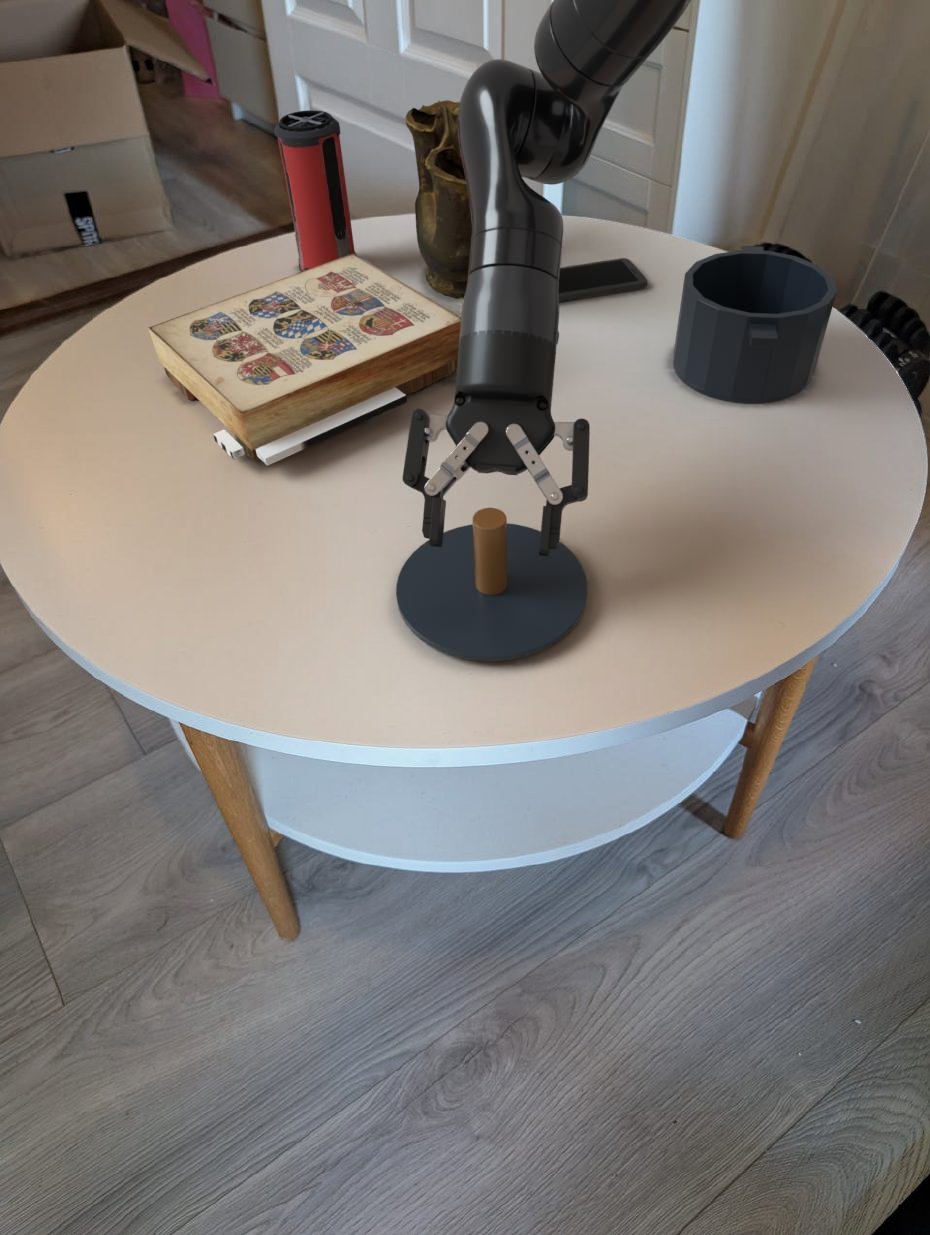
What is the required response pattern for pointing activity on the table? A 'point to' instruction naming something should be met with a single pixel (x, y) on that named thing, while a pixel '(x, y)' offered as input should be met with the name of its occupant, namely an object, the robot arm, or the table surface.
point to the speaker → (315, 186)
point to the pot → (752, 325)
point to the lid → (491, 591)
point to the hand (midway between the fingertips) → (489, 551)
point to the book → (308, 355)
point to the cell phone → (599, 279)
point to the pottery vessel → (441, 197)
